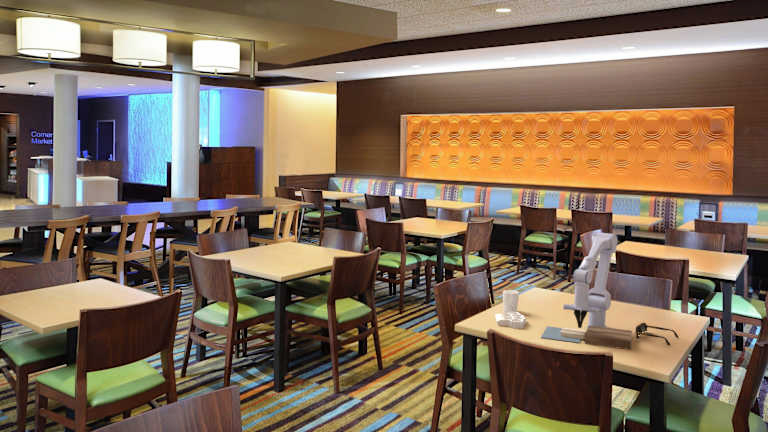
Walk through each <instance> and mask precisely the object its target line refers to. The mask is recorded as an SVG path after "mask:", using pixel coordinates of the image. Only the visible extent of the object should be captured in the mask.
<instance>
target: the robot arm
mask: <svg viewBox="0 0 768 432" xmlns="http://www.w3.org/2000/svg"><path fill="white" fill-rule="evenodd" d="M591 235H592V236H591V245H592V246H591V248H590V250H589V253H588V256H587V255H586V256H584V258H583V260H582V261H581V263H580V266H579V268H577V269H575V270H574V272H573V275H572V279H573V286H574V298H573V299H574V303H573V304H567V303H566V304H563V306H562V308H563V310H565V311H566V310H569V311H573V315H574V317H575V320H576V322H577V323H576V324H577V327H578V329H582V327H583V323H584V320H585V318H586V316H587V314H588V322H587V323H588V324H587V326H586V329H587V328H588V325H590V326H598V327H606V328H607V324H606V317H607V316H606V315H607V311H608V310H609V309H610V308H611V303H612V299H611V298H612V295H611V293H610V292H609V291H608V290H607V283H608V277H609V272H610V267H611V260H612V256H613V254H615V253H616V250H617V246H618V236H617V234H616V233H607V232H598V231H594V232H593V233H592V234H591ZM598 257H599V258H598ZM597 259H599V260H598V261H597ZM597 264H598V265H597ZM596 266H597V270H596V275H595V280H594V281H595V282H594V287H592V288H590V284H591V282H592V280H593V275H594V270H595V269H596Z"/></svg>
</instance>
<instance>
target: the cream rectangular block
mask: <svg viewBox="0 0 768 432" xmlns="http://www.w3.org/2000/svg"><path fill="white" fill-rule="evenodd" d="M561 328H562V330H561V334H560V336H563V337H570V338H578V339H581V340H585V335H586V331H587V329H580V328H578V329H577V328H570V327H561Z"/></svg>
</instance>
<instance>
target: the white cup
mask: <svg viewBox="0 0 768 432" xmlns="http://www.w3.org/2000/svg"><path fill="white" fill-rule="evenodd" d="M519 294H520V292H519V291H517V290H514V289H504V290H502V310H503V313H507V312H518V305H519Z"/></svg>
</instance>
